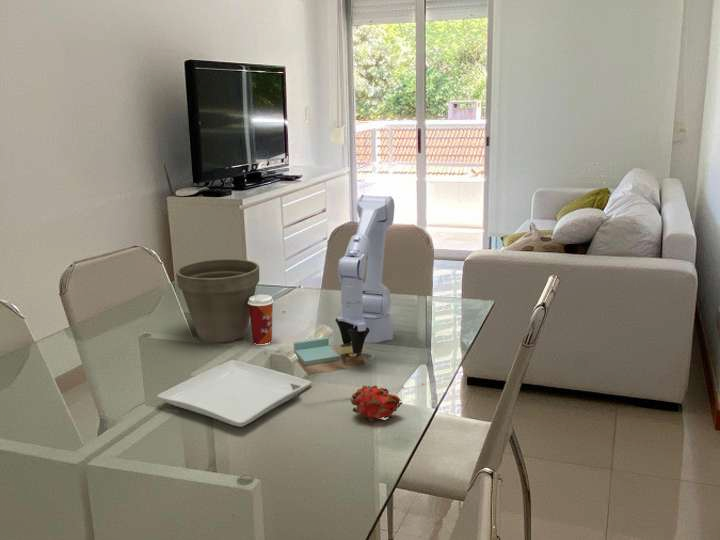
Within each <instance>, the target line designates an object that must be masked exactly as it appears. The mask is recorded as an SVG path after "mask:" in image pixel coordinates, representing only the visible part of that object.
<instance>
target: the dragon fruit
mask: <svg viewBox="0 0 720 540" xmlns="http://www.w3.org/2000/svg"><path fill="white" fill-rule="evenodd" d="M350 402H351V405H353V406H355V407H353V408H352V412H354V413H355V414H363V417H364V416H365V417H366V418H367V419H368V420H369V422H373V420H374V419H375V418H377V419H376V420H381V419H380V418H382V417H389V416H391V415H392V414H393V413H394V412H397V409H399V408H400V406H401V405H402V404H403V402H402V400H401V398H400V397H399V396H397V395H396V394H390V393H389V390H388V389H387V388H384V387H378V386H377V385H373V386H370V385H368V386H367V385H362V387H361V388H358V389H357V390H356V392H354V393H352V399H350ZM365 417H364V418H365Z"/></svg>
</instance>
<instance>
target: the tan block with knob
mask: <svg viewBox="0 0 720 540" xmlns="http://www.w3.org/2000/svg"><path fill="white" fill-rule="evenodd" d="M366 344H367V343H366V342H364V344H363V348H362V352H363V351H366V346H367V345H366ZM338 346H339V352H340V353H341V354H346V353H348V357H355V356H357V353H356V354H354V353H353V349H352V342H351V343H347V344H343V343H340V344H338Z"/></svg>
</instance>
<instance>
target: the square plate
mask: <svg viewBox="0 0 720 540" xmlns="http://www.w3.org/2000/svg"><path fill="white" fill-rule="evenodd" d="M312 384H313V383H312V381H311V380H309V379H305V378H300V377H297V376H294V375H292V374H288V373H285V372H281V371H279V370H278V371H277V370H274V369H270V368H267V367H263V366H259V365H256V364H251V363H248V362H247V363H246V362H243V361H238V360H233V359H231V360H228V361H226V362H223V363H222V364H221V363H220V364H218V365H217V366H215V367H211V368H210V369H208V370H206V371H203V372H201V373H199V374H197V375H195V376H193V377H191V378H189V379H187V380H184V381H182V382H181V383H178V384H177V385H174V386H173V387H171V388H169V389H167V390H165V391H162V392H160V393H159V394H157V397H156V398H159V399H160V400H162V401H163V402H165V403H166V404H170V405H172V406H175V407H177V408H181V409H184V410H188V411H191V412H193V413H197V414H201V415H203V416H207V417H210V418H213V419H215V420H218V421H221V422H223V423H226V424H228V425H229V424H230V425H232V426H236V427H240V428H241V427H244V426H246V425H248V424H250V423H252V422H253V421H255V420H257V419H258V418H259V417H261V416H264V415H265V414H266V413H268V412H271V410H274V409H275V408H277V407H278V406H280V405H282V404H284V403H286V402H288V401H290V400H291V399H293V398H295V397H296V396H298V395H299V394H300V393H302V392H303V391H305V390H306V389H308V388H309V387H310V386H311V385H312ZM293 385H295V386H299V387H297V388H294V386H293Z"/></svg>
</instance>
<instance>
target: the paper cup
mask: <svg viewBox="0 0 720 540" xmlns="http://www.w3.org/2000/svg"><path fill="white" fill-rule="evenodd" d="M274 302H275V300H274V299H273V297H272V295H269V294H254V296H251V297H250V298H249V301H248V304H249V311H250V319H249V321H250V326H251V335H252V336H251V337H252V342H253V343H252V344H254V343H256V344H265V343H269V342H271V341H273V306H274V305H273V303H274ZM271 343H272V342H271Z"/></svg>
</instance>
